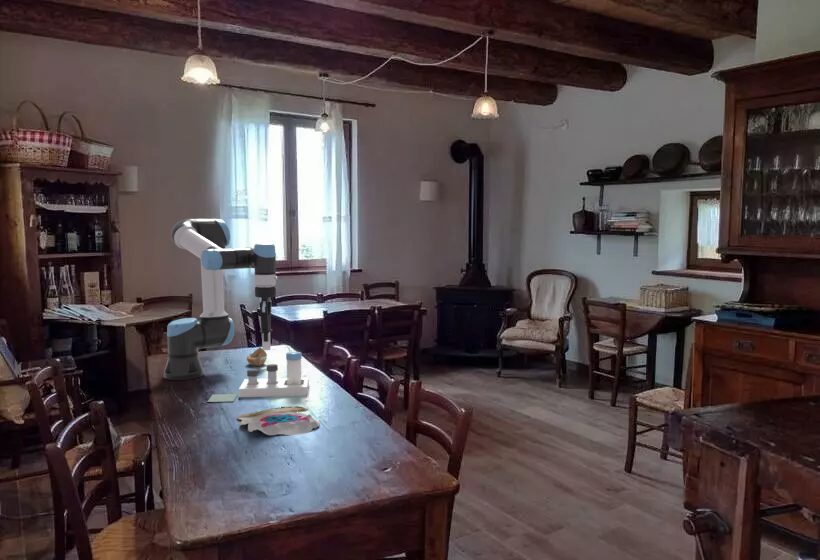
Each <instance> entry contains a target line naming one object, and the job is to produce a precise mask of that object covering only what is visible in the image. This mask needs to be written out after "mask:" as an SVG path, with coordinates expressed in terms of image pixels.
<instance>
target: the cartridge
mask: <svg viewBox="0 0 820 560" xmlns="http://www.w3.org/2000/svg"><path fill="white" fill-rule="evenodd" d="M285 359H286V378H287V385H301V377H302V352H301V351H290V352H289V351H288V352H286V353H285Z"/></svg>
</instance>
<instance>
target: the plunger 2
mask: <svg viewBox="0 0 820 560" xmlns="http://www.w3.org/2000/svg"><path fill="white" fill-rule="evenodd" d="M278 366H279V365H278V364H274V363H270V364H267V365H266V372H267V378H268V385H269V384H276V383H277V378H278V377H277V371H278V369H279V368H278Z"/></svg>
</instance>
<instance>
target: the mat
mask: <svg viewBox="0 0 820 560" xmlns="http://www.w3.org/2000/svg"><path fill="white" fill-rule="evenodd" d="M238 396H239V393H226V394H225V393H224V394H223V393H222V394H212V395H211V396H210V397H209V399H208V400H207V402H222V403H234V402H235V401H236V399H237V397H238ZM207 402H206V403H207Z"/></svg>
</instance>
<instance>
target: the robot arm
mask: <svg viewBox="0 0 820 560" xmlns="http://www.w3.org/2000/svg"><path fill="white" fill-rule="evenodd" d="M170 239H171V241H172V243H173V244H174V245H175V246H176V247H178V248H179V249H182V250H186V251H188V252H190V253H191V254H193V255H194V256H196V257H197V258H198V259H200V273H201V275H200V276H201V290H202V291H201V293H202V294H201V295H202V313H201V314H200V315H199V320H198V319H197V318H195V317H187V318H186V317H185V318H180V319H175V320H172V321H170V322H169V323H168V324H167V327H166V328H167V331H166V340H167V361H166V364H165V368H164V371H163V378H164V379H166V380H168V381H169V380H170V381H187V380H188V381H189V380H193V379H199V378H201V377H202V376H203V375H204V369H203V365H202V363H201V360H200V357H199V350H200V349H207V348H215V347H222V346H226V345H229V344H230V343H231V342H232V340H233V338H234V336H235V323H234V321H233V319H232V318H231V317H229V313H228V312H227V311H225V295H224V294H225V293H224V277H223V276H224V275H223V270H224V271H225V270H240V269H254V274H253V277H254V286H255V287H254V296H255V297H256V298H260V302H259V311H260V324H261V325H260V327H261V328H260V329H261V330H260V331H259V333H260V334H262V335H261V339H262V340H261V341H262V343H261V345H262V347H261V348H262V350H264V351H270V350H271V332H273V329H271V328H272V326H271V322H272V304H273V303H272V302H273V301H272V300H271V298H275V297H276V296H277V287H276V285H277V281H276V280H278V276H277V275H276V270H277V267H276V263H277V261H276V260H277V259H276V258H277V252H276V246H275V244H273V243H266V242H265V243H255V244H254V246H253V247H242V248H240V247H239V248H226V247H227V246H229V244H230V241H231V233H230V228H229V226H228V225H227V223H226V222H225V220H223V219H221V218H185V219H181V220H179V221H178V222H176V223H175V224H174V225H173V226H172V228H171V230H170Z"/></svg>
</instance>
